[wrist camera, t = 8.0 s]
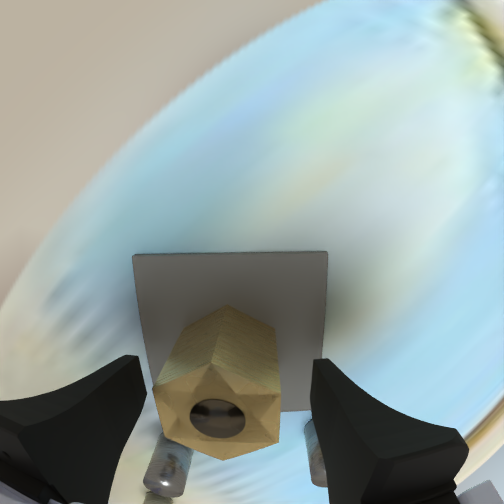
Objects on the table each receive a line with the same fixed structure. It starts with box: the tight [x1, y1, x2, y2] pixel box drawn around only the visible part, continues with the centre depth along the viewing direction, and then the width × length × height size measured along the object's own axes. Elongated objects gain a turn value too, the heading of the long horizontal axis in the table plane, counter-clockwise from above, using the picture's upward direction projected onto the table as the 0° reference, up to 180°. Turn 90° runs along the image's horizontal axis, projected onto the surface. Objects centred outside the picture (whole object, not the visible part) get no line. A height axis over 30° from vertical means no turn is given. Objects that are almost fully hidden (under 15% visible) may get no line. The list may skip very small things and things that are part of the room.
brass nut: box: [152, 304, 281, 460], centre depth 12 cm, size 4×5×5 cm
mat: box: [132, 251, 328, 412], centre depth 15 cm, size 9×9×1 cm
